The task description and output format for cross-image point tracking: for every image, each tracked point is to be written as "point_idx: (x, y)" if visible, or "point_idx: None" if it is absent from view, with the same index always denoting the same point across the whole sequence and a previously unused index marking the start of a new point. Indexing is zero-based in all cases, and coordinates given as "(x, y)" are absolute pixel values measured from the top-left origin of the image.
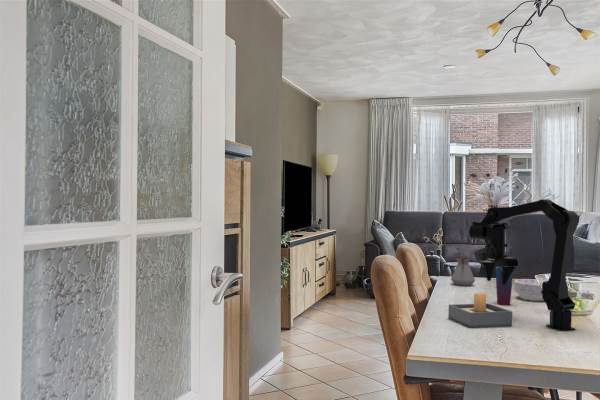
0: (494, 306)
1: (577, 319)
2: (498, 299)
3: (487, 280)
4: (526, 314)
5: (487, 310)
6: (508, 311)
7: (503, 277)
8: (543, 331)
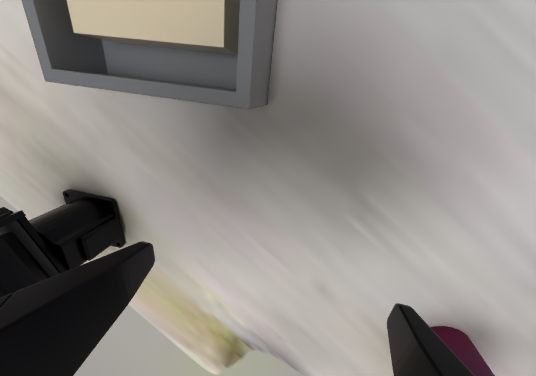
0: (169, 83)
1: (187, 327)
2: (462, 347)
3: (406, 305)
4: (268, 276)
5: (144, 2)
6: (42, 59)
7: (41, 286)
8: (55, 139)
